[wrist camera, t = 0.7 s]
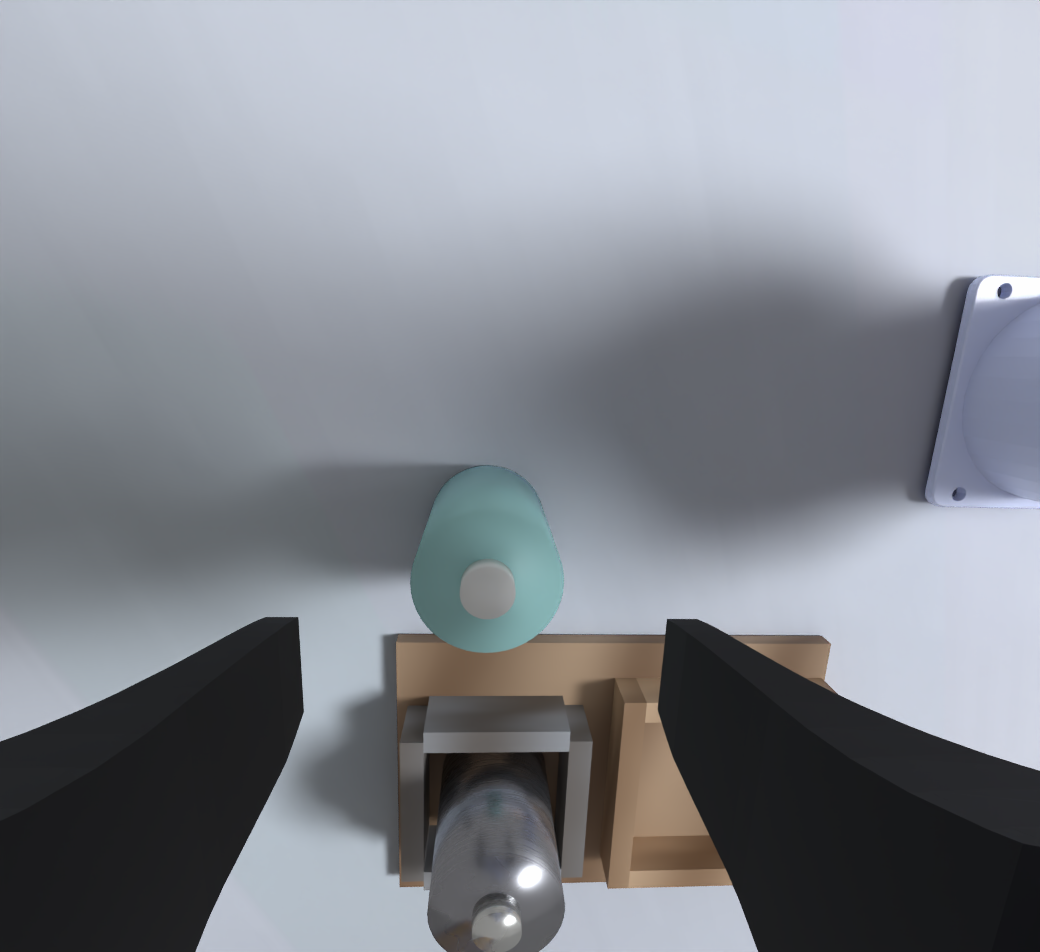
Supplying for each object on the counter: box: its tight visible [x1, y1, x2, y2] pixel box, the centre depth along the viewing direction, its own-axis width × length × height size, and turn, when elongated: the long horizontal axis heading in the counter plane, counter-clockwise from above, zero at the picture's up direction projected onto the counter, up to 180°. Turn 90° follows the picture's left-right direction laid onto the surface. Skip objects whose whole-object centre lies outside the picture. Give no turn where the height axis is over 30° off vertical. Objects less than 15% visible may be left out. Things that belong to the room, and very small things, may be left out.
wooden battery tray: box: [396, 634, 837, 890], centre depth 21 cm, size 16×11×3 cm
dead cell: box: [427, 752, 565, 952], centre depth 18 cm, size 4×4×6 cm
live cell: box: [410, 465, 564, 653], centre depth 17 cm, size 4×4×6 cm
